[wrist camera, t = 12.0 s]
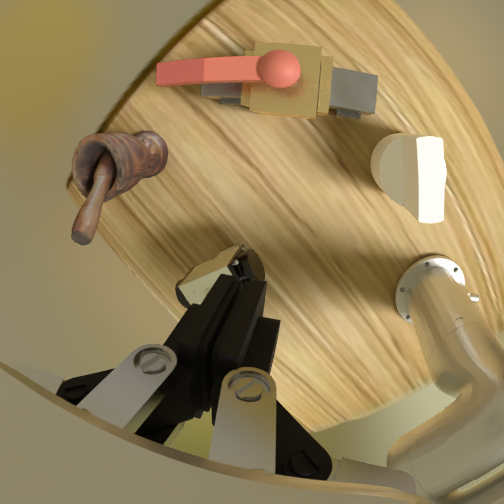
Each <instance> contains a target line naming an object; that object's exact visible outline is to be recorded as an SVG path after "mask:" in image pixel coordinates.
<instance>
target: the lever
mask: <svg viewBox="0 0 504 504" xmlns="http://www.w3.org/2000/svg"><path fill="white" fill-rule="evenodd" d="M300 75H301V68H300V65H299V62H298V60H297V58H296V57H295V56H294V55H293V54H292V53H290V52H288V51H286V50H273V51H270V52H268V53H267V54H265V55H264V56H231V57H213V58H196V59H186V60H178V61H170V62H163V63H157V77H156V85H157V86H163V87H168V86H179V85H191V84H207V83H229V82H262V83H267V84H269V85H270V86H272V87H274V88H277V89H287V88H290V87H292V86H293V85H295V84H296V83H297V82H298V80H299V78H300Z"/></svg>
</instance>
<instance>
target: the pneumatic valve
mask: <svg viewBox="0 0 504 504" xmlns="http://www.w3.org/2000/svg"><path fill="white" fill-rule="evenodd" d="M220 274H227V275H232V276H236V278H237V280H238V281H241V289H242V287H243V285H244V283H245V282H249V283H250V281H251V279H255V280H261V281H264V279H265V271H264V267H263V264H262V262H261V260H260V258H259V256H258V255H257V253H256V252H255V251H254V250H252V249H248V250H246V248H245V246H244V245H241V246H240V245H234V246H232V247H230V248H228V249H226V250H223V251H221V252H219V254H218V256H217V257H215V258H213V259H211V260H208V261H206V262H204V263H202V264H200V265H198V266H195V267H193V268H192V269H191V270H190V271H189V272H188V274H187V275H186V276H185V277H184V278H183V279H181V280H179V281H178V282H177V284H176V288H175V289H176V295H177V298H178V300H179V302H180V303H181V304H182V305H183V306H184V307H185V308H189V307H190V306H191V304H193V303H195V304H201V303H202V301H203V300H204V298H205V297H206V295H207V294H208V292H209V291H210V289H211V288H212V286H213V285H214V283H215V282H216V280H217V278H218V277H219V275H220Z"/></svg>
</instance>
